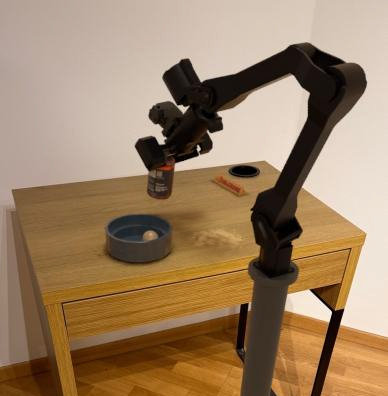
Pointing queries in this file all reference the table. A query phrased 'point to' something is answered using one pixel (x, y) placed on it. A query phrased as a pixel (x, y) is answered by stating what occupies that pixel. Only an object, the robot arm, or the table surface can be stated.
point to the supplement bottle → (161, 180)
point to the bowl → (138, 237)
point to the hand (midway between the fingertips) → (158, 166)
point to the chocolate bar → (229, 185)
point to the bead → (149, 236)
